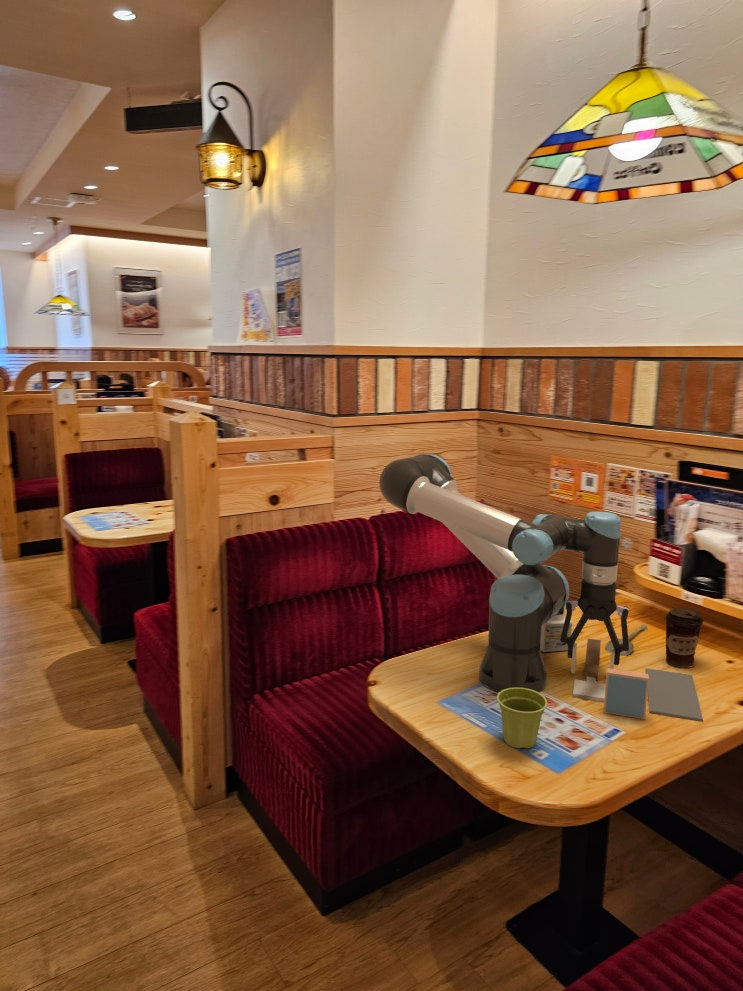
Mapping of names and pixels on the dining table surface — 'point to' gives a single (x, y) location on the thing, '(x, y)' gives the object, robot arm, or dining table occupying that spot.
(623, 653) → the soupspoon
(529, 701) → the plant pot
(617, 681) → the tile
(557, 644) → the container
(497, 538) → the robot arm
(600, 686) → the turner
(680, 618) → the coffee cup
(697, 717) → the mat
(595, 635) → the dining table surface
